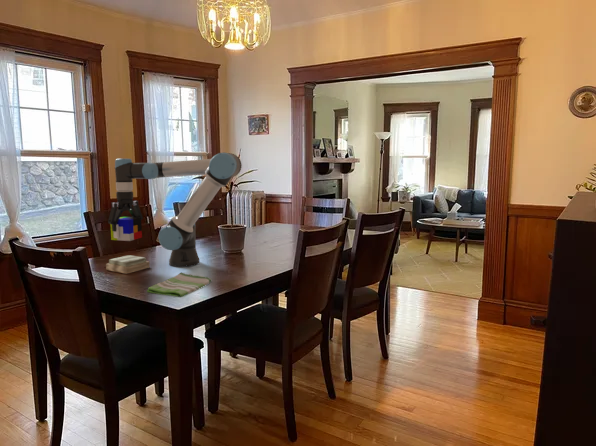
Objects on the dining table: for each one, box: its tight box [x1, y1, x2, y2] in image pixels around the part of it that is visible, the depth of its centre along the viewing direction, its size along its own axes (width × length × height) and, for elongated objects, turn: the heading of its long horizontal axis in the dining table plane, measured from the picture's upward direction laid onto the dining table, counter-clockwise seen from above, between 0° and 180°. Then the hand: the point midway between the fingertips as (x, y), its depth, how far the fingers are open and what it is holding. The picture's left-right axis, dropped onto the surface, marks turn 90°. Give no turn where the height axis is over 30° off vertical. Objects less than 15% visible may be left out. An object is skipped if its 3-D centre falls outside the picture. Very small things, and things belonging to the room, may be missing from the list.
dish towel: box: [146, 272, 212, 298], centre depth 184 cm, size 17×23×4 cm
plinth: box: [105, 254, 150, 274], centre depth 214 cm, size 14×14×5 cm
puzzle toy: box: [109, 216, 143, 242], centre depth 212 cm, size 10×10×10 cm
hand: (126, 236), depth 213 cm, fingers closed on puzzle toy, 11 cm apart
